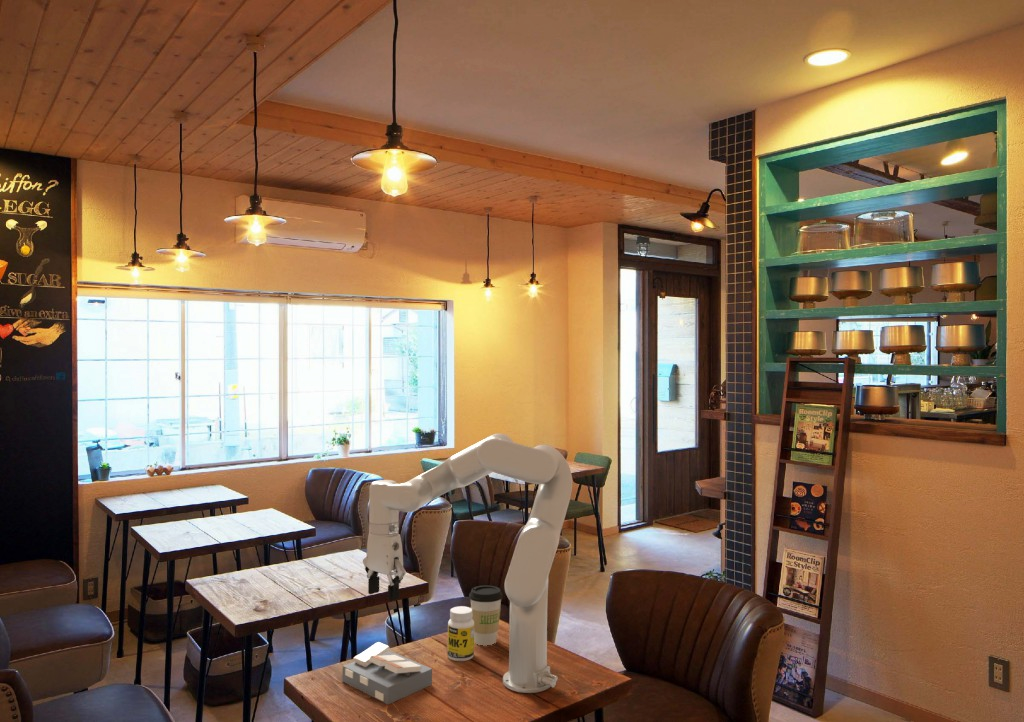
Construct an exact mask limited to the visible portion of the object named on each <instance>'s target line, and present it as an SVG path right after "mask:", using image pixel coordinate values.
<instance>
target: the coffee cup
mask: <svg viewBox="0 0 1024 722" xmlns="http://www.w3.org/2000/svg"><path fill="white" fill-rule="evenodd" d="M468 598H469V600H470V608H471V609H472V615H473V616H472V619H473V621H474V644H475V643H476V644H475V645H477V644H478V645H477V646H480V645H483V646H482V647H488V646H487V645H491V646H493V645H492V644H494V643H495V644H496V643H497V640H498V639H497V638H498V630H499V625H500V624H499V623H500V617H501V609H502V607H501V602H502V599H503V598H504V597H503V593H502V591H501V589H500V587H498V586H496V585H487V584H486V585H477V586H474V587H472V588H471V590H470V592H469V594H468ZM495 644H494V645H495Z"/></svg>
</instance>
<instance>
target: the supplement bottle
mask: <svg viewBox="0 0 1024 722" xmlns="http://www.w3.org/2000/svg"><path fill="white" fill-rule="evenodd" d="M472 616H473V615H472V609H471V607H469V606H465V605H460V606H459V605H458V606H454V607H452V608H450V609H449V620H448V622H447V648H446V649H447V652H446V653H447V657H448V659H449V660H451V661H456V662H465V661H466V662H467V661H469V660H471V659H473V658H474V655H475V639H474V621H473V619H472Z"/></svg>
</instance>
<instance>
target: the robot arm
mask: <svg viewBox="0 0 1024 722" xmlns="http://www.w3.org/2000/svg"><path fill="white" fill-rule="evenodd" d="M492 473H494V474H496V475H497V474H498V475H501V476H504V477H507V478H511V479H515V480H519V481H522V482H525V483H528V484H534V485H538V489H537V492H536V495H535V498H534V502H533V505H532V507H531V508H532V509H531V511H530V514H529V517H528V520H527V522H526V524H525V525H524V527H523V529H522V530H521V532H520V534H519V536H518V539H517V542H516V544H515V547H514V551H513V555H512V558H511V560H510V563H509V564H510V565H509V567H508V570H507V572H506V573H507V574H506V575H505V579H504V593H505V595H506V596H507V597H506V598H508V600H509V620H508V621H509V626H508V627H509V633H508V634H509V635H508V636H509V637H508V638H509V639H508V640H509V641H508V643H509V644H508V650H509V651H508V652H509V653H508V655H509V656H508V671H507V672H505V673H504V674H503V675H502V684H503V685H504V687H505V688H507V689H509V690H511V691H513V692H517V693H521V694H522V693H524V694H535V693H540V692H544V691H546V690H548V689H550V688H555V687H556V685H557V681H558V680H559V677H558V675H557V674H552V673H551V666H550V665H547V664H548V661H547V660H548V659H547V658H548V652H547V651H548V630H547V629H548V597H549V596H548V595H549V594H548V593H549V592H548V591H549V574H550V571H551V568H552V565H553V563H554V558H555V556H556V552H557V550H558V547H559V543H560V536H561V532H562V529H563V525H564V522H565V518H566V515H567V511H568V508H569V504H570V501H571V496H572V490H573V476H572V471H571V467H570V465H569V463H568V461H567V460H566V458H565V457H564V456H563V455H562V453H561V452H560V451H559V450H558V449H557V448H555V447H554V446H551V445H549V444H539V445H536V446H535V447H531V446H528V445H523V444H521V443H517V442H514V441H513V440H512V437H510V436H509V435H507V434H505V433H494V434H492V435H489V436H487V437H485V438H484V439H482V440H480V441H478V442H476V443H474V444H472V445H469V446H468V447H467V448H465V449H462V450H461V451H459V452H457V453H455V454H453V455H451V456H450V457H448V458H447V459H445V461H443V462H442V463H440V464H438V465H436V466H435V467H433V468H431V469H428V470H427V471H425V472H423V473H421V474H420V475H417V476H415V477H413V478H411V479H410V480H408V481H406V482H402V483H398V482H397V481H395V480H392V479H380V480H379V479H378V480H375V481H372V482H371V483H370V485H369V498H368V499H369V504H368V505H369V508H368V509H369V514H368V515H369V518H368V519H369V520H368V521H369V522H368V523H369V526H368V527H369V528H368V532H369V533H368V536H367V544H366V556H365V557H364V559H362V564H363V566H364V570H365V572H366V577H367V579H368V582H367V583H368V585H367V591H368V592H367V594H368V595H373V594H376V593H379V592H380V576H378V575H379V574H383V575H386V576H387V579H388V583H389V585H387V601H389V602H392V601H395V600H399V598H400V584H401V583H402V580H403V579H404V576H405V575H406V573H407V571H406V569H405V567H404V554H403V553H404V552H403V543H402V538H401V534H399V523H400V522H399V521H400V520H399V513H400V512H403V513H413V512H416V511H418V510H419V509H420V508H423V506H424V505H427V503H430V502H431V501H433V500H435V499H437V498H439V497H441V496H443V495H444V494H446V493H449V492H451V491H453V490H455V489H458V488H459V489H460V488H465V487H466V486H469V485H471V484H473V483H475V482H476V481H479V480H480V479H482V478H484V477H486V476H489V475H490V474H492ZM393 576H394V577H393Z"/></svg>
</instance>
